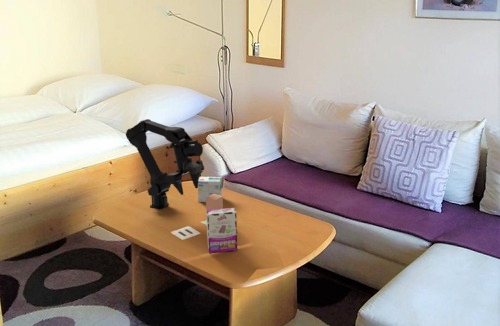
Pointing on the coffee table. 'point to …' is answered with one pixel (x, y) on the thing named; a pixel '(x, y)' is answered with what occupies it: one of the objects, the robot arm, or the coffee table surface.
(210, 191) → the light bulb box
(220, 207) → the terracotta block
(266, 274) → the coffee table surface
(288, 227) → the coffee table surface
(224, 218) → the candy bar box
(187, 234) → the mat
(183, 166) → the robot arm
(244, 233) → the coffee table surface
